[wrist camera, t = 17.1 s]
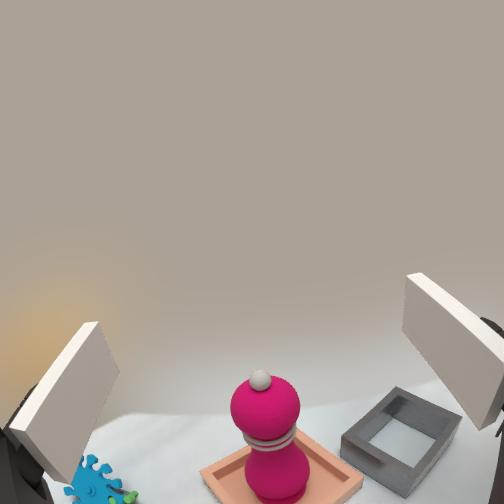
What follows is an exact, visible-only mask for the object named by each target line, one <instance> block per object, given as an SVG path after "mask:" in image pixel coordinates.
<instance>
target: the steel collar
mask: <svg viewBox="0 0 504 504" xmlns="http://www.w3.org/2000/svg"><path fill="white" fill-rule="evenodd" d="M392 418H395V419H397V420H399V421H401V422H403V423H405V424H407V425H409V426H410V427H412V428H414V429H416V430H418V431H420V432H422V433H424V434H426V435H428V436H430V437H432V438H434V439H436V441H435V443H434V444H433V445H432V447H431V448H430V449H429V450H428V452H427V453H426V454H425V455H424V457H423V458H422V459H421V460H420V461H419V463H418V464H417V465H416V466H415V467H414V468H411V467H409V466H408V465H406V464H404V463H402V462H400V461H399V460H397V459H395V458H393V457H392V456H390V455H388V454H387V453H385V452H383V451H382V450H380V449H378V448H377V447H375V446H373V445H372V444H370V443H368V441H369V440H370V439H372V438H373V437H374V436H375V435H376V434H377V433H378V432H379V431H380V430H381V429H382V428H383V427H384V426H385V425H386V424H387V423H388V422H389V421H390V420H391V419H392ZM461 419H462V416H459V415H457V414H455V413H453V412H450V411H448V410H446V409H444V408H441V407H439V406H437V405H435V404H432V403H430V402H428V401H426V400H424V399H422V398H419V397H417V396H415V395H413V394H411V393H409V392H407V391H405V390H402V389H400V388H398V387H395V388H394V389H393V390H392V391H391V392H390V393H389V394H388V395H386V396H385V397H384V398H383V399H382V400H381V401H380V402H379V403H378V404H377V405H376V406H375V407H374V408H373V409H372V410H371V411H369V412H368V413H367V414H366V415H365V416H364V417H363V418H362V419H360V420H359V421H358V422H357V423H356V424H355V425H354V426H352V427H351V428H350V429H349V430H348V431H346V432H345V433H344V434H343V435H342V436H341V449H340V457H341V458H342V459H344V460H345V461H347V462H348V463H350V464H351V465H353V466H354V467H356V468H357V469H359V470H360V471H362V472H363V473H365V474H366V475H368V476H369V477H371V478H372V479H374V480H376V481H377V482H379V483H380V484H382V485H384V486H385V487H387V488H388V489H390V490H392V491H393V492H395V493H397V494H398V495H400V496H402V497H403V498H405V499H406V498H407V497H408V495H409V494H410V493H411V492H412V491H413V490H414V489H415V488H416V486H417V485H418V484H419V483H420V482H421V480H422V479H423V478H424V477H425V476H426V474H427V473H428V472H429V471H430V469H431V468H432V467H433V466H434V464H435V463H436V462H437V460H438V459H439V458H440V456H441V455H442V454H443V452H444V451H445V449H446V448H447V447H448V445H449V444H450V442H451V441H452V440H453V437H454V435H455V433H456V431H457V429H458V426H459V424H460V422H461Z"/></svg>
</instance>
